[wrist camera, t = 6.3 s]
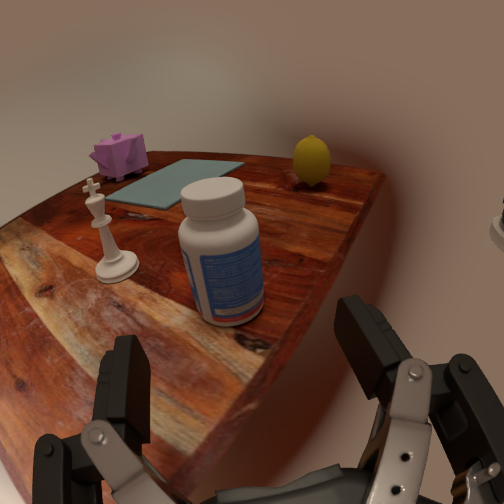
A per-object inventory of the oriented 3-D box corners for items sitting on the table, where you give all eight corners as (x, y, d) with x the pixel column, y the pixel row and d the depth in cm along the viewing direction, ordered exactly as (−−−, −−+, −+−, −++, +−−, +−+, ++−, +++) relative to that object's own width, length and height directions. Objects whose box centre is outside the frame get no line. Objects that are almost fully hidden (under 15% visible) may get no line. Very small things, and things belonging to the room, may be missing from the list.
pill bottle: (276, 293, 24) (271, 177, 19) (241, 338, 20) (223, 210, 15) (221, 276, 26) (206, 170, 21) (183, 313, 23) (152, 198, 17)
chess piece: (103, 259, 30) (76, 176, 25) (142, 253, 31) (119, 165, 25) (91, 286, 26) (56, 194, 21) (135, 280, 27) (104, 182, 21)
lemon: (316, 196, 40) (317, 140, 36) (286, 187, 44) (284, 135, 39) (336, 185, 43) (337, 135, 39) (307, 178, 47) (306, 130, 42)
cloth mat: (244, 164, 56) (244, 162, 56) (165, 210, 40) (165, 207, 40) (183, 161, 63) (182, 159, 63) (105, 199, 47) (104, 197, 47)
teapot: (83, 183, 60) (73, 144, 54) (127, 164, 68) (120, 128, 63) (115, 192, 50) (103, 142, 44) (168, 169, 58) (160, 124, 53)
